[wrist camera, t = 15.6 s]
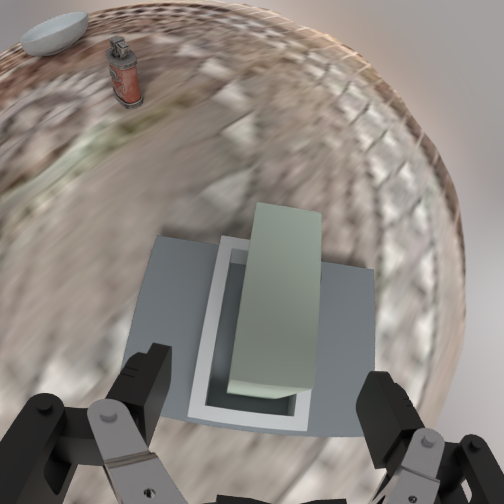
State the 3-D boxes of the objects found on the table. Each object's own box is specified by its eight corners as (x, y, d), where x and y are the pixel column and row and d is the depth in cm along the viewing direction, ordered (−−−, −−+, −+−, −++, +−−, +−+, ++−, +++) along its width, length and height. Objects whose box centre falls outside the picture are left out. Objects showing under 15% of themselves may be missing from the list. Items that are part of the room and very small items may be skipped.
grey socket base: (119, 404, 22) (102, 401, 18) (159, 243, 29) (152, 219, 25) (362, 435, 22) (384, 437, 18) (367, 276, 29) (385, 256, 26)
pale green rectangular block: (226, 393, 22) (229, 379, 12) (242, 284, 26) (256, 201, 16) (286, 400, 22) (336, 390, 12) (296, 292, 26) (339, 216, 17)
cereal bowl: (51, 67, 46) (43, 40, 40) (15, 66, 48) (8, 43, 42) (105, 33, 54) (101, 8, 48) (64, 33, 56) (60, 12, 50)
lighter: (109, 90, 41) (98, 37, 32) (128, 82, 42) (120, 29, 33) (126, 112, 38) (114, 51, 30) (147, 103, 39) (139, 42, 31)
